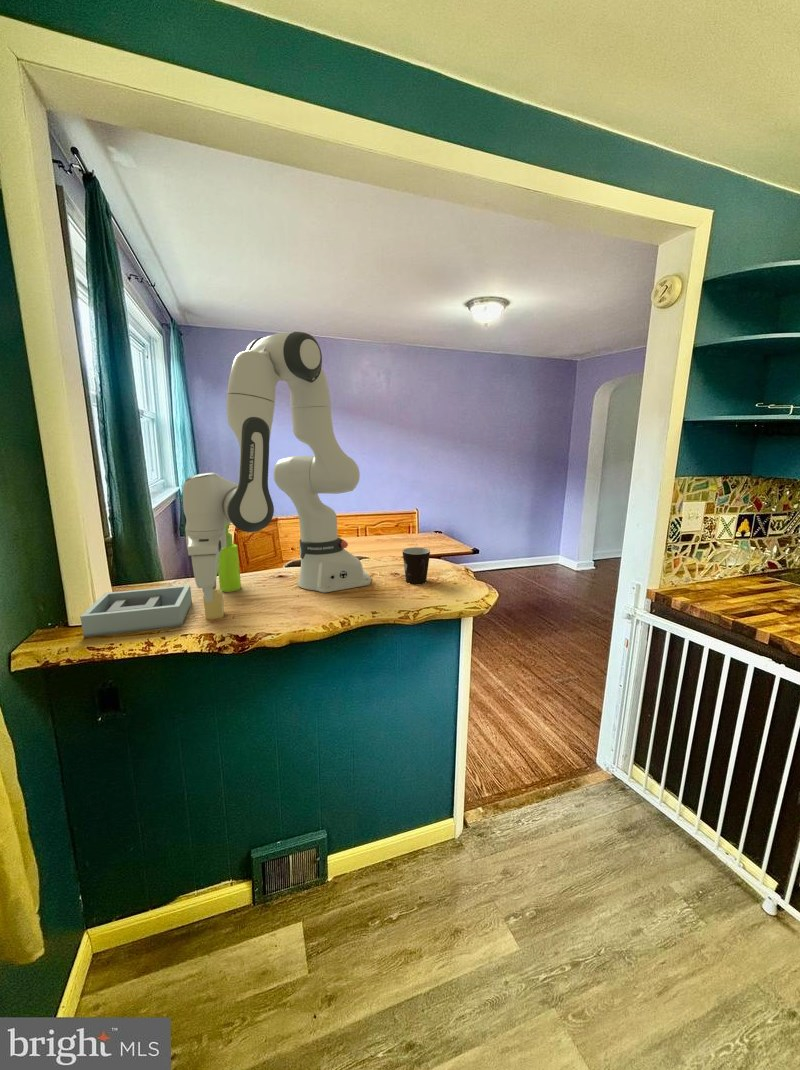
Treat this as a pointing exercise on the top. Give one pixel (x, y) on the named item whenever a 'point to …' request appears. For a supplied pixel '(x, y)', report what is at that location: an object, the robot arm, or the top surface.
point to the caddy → (137, 610)
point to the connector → (214, 606)
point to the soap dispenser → (229, 565)
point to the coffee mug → (416, 564)
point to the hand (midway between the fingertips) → (211, 594)
